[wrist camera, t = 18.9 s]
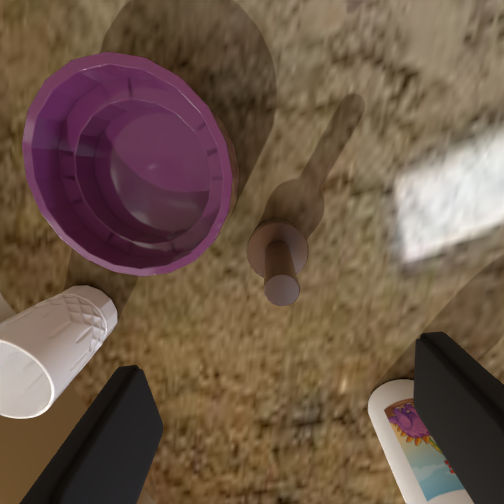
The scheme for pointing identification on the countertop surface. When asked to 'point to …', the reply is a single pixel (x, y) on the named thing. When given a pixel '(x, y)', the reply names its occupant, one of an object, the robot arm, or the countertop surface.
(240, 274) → the countertop surface
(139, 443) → the robot arm
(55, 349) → the white cup
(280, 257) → the dish brush
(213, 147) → the bowl
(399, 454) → the milk bottle
